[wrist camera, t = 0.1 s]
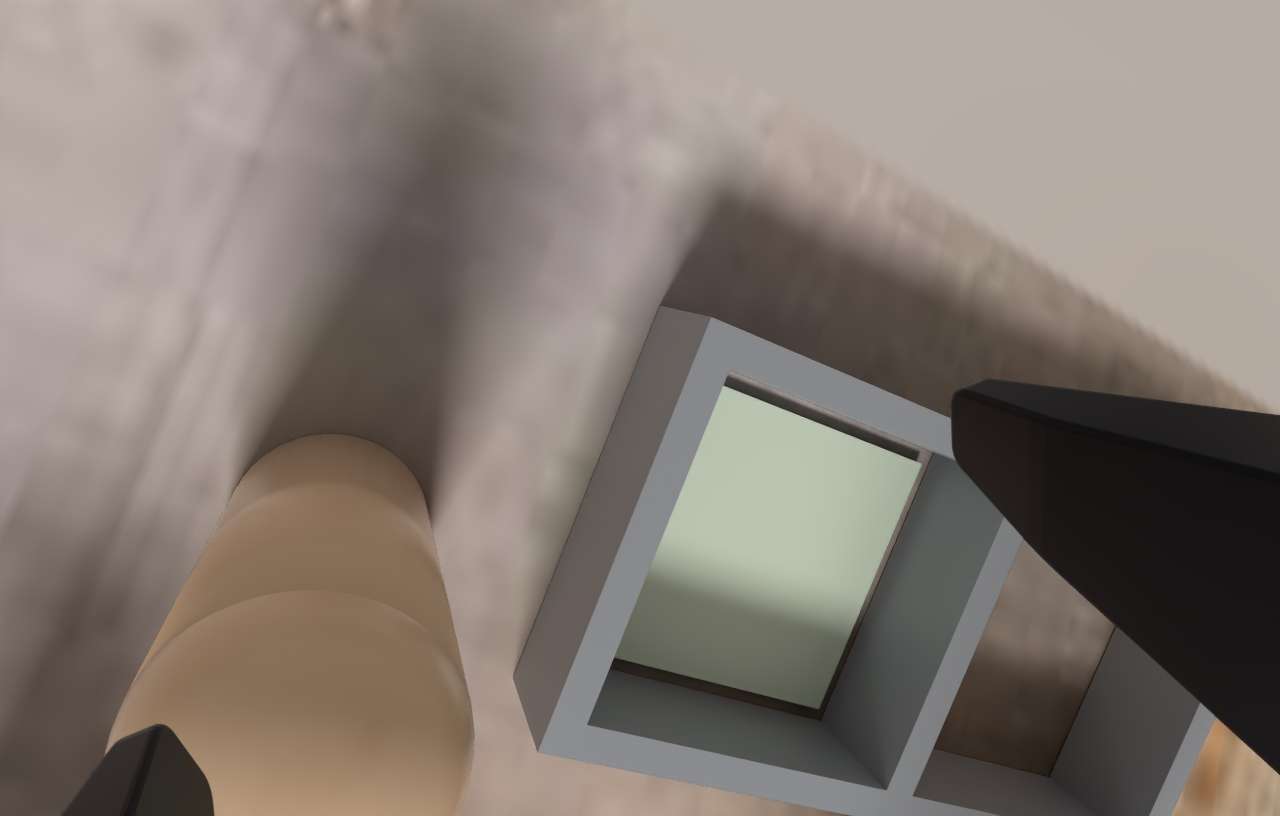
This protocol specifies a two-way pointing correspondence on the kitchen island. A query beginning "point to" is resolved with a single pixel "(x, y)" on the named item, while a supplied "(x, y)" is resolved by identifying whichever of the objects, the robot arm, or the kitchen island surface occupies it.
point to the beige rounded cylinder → (315, 646)
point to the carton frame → (808, 606)
